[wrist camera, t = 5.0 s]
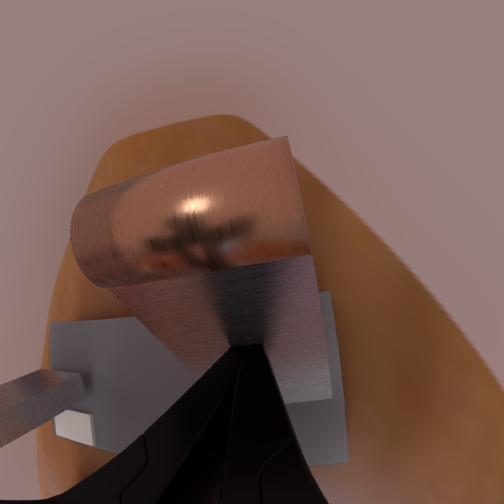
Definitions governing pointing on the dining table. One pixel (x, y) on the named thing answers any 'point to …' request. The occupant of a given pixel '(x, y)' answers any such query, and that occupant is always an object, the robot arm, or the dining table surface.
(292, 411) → the switch box
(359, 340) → the dining table surface
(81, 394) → the grey lever
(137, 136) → the dining table surface
